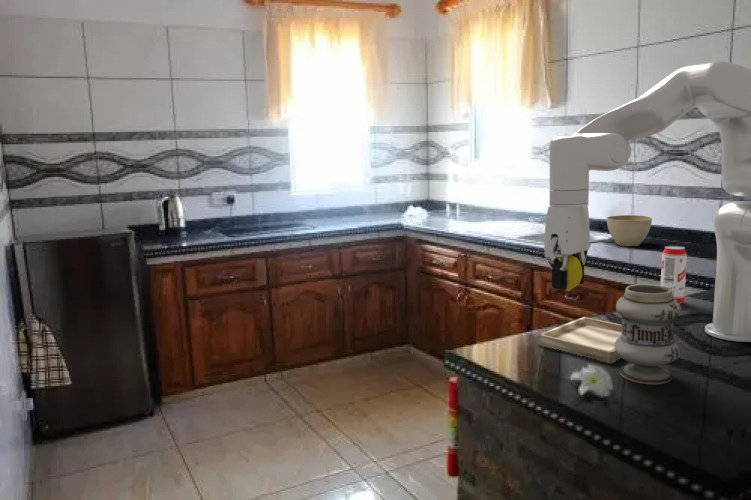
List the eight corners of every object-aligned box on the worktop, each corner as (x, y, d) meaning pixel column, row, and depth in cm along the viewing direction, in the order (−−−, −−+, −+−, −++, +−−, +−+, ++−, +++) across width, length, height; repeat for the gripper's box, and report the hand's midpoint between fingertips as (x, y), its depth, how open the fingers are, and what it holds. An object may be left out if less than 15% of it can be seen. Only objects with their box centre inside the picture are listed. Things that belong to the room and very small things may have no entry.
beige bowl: (619, 240, 282) (620, 214, 280) (658, 244, 268) (659, 217, 266) (597, 245, 271) (598, 218, 269) (637, 250, 257) (639, 221, 255)
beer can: (656, 303, 177) (659, 247, 174) (664, 298, 181) (666, 244, 179) (679, 306, 173) (683, 250, 170) (687, 301, 177) (690, 246, 174)
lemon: (576, 287, 131) (576, 250, 129) (586, 293, 125) (586, 255, 124) (550, 288, 131) (550, 251, 129) (559, 295, 125) (559, 256, 124)
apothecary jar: (614, 361, 132) (617, 279, 129) (676, 368, 128) (681, 283, 125) (612, 382, 121) (615, 293, 118) (680, 390, 117) (686, 297, 114)
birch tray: (583, 326, 158) (583, 316, 157) (654, 341, 144) (654, 331, 144) (538, 344, 145) (538, 334, 144) (610, 363, 131) (611, 352, 131)
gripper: (575, 193, 133) (574, 275, 136) (527, 201, 122) (528, 291, 125) (608, 194, 127) (606, 280, 130) (561, 203, 116) (560, 297, 119)
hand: (568, 284), depth 128 cm, fingers closed on lemon, 5 cm apart
